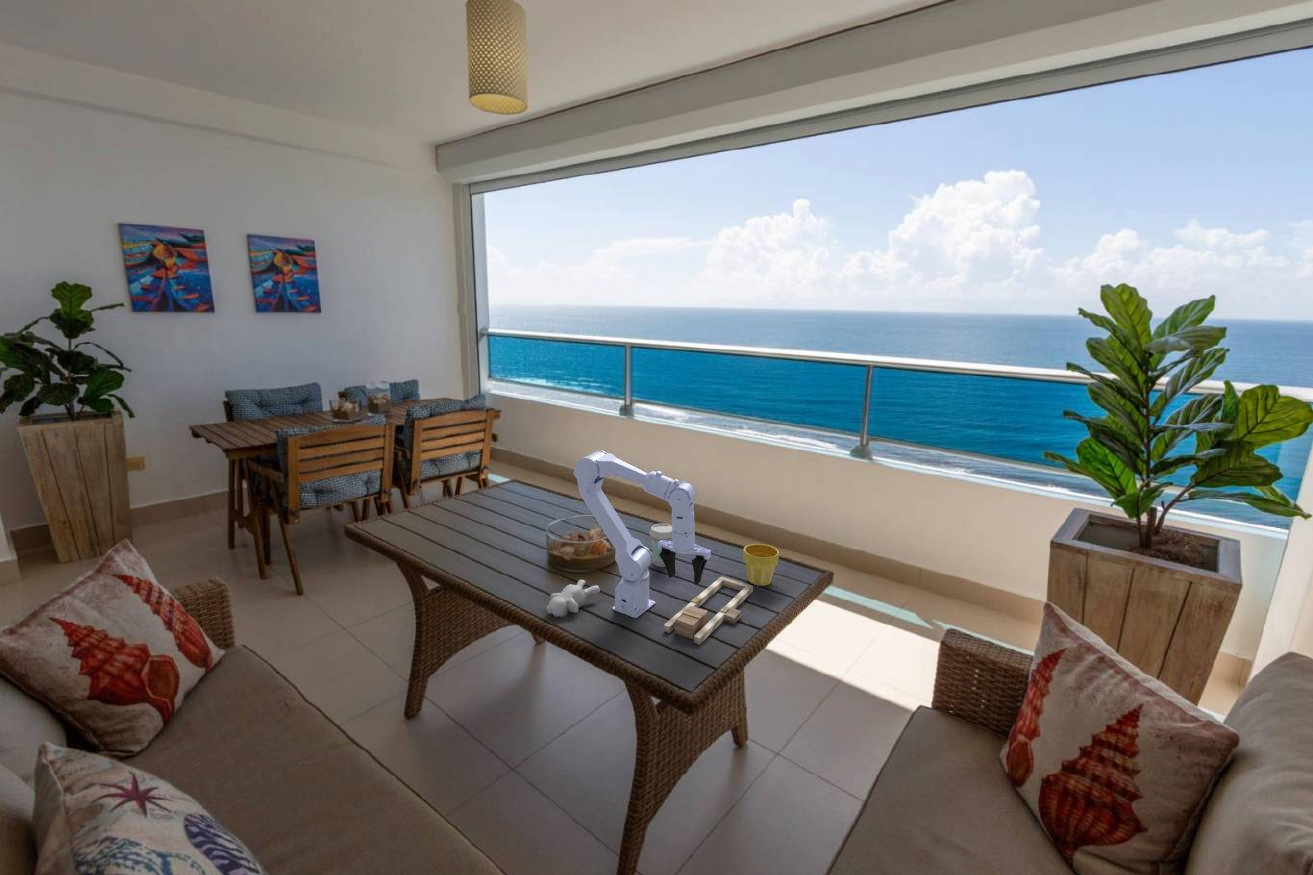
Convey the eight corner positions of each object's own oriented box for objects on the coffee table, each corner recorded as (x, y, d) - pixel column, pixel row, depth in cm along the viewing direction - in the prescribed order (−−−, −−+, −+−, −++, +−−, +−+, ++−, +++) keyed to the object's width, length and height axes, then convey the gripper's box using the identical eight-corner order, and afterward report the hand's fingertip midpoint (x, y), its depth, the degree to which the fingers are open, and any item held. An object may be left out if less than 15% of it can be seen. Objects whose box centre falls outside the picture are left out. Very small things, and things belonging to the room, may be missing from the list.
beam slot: (710, 649, 132) (711, 641, 131) (663, 631, 139) (664, 623, 138) (762, 594, 158) (762, 587, 157) (720, 581, 165) (721, 575, 164)
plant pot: (752, 569, 173) (754, 540, 171) (783, 579, 166) (785, 549, 164) (735, 581, 165) (737, 550, 163) (766, 592, 159) (768, 561, 156)
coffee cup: (678, 559, 179) (679, 524, 176) (672, 571, 171) (673, 534, 168) (653, 555, 181) (653, 521, 178) (645, 567, 173) (646, 531, 170)
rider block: (692, 640, 136) (693, 624, 135) (675, 633, 138) (675, 618, 137) (707, 625, 142) (708, 610, 141) (690, 619, 145) (690, 604, 144)
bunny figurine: (538, 598, 146) (577, 571, 157) (540, 615, 147) (579, 587, 159) (563, 610, 140) (602, 581, 152) (565, 627, 142) (604, 597, 153)
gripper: (715, 529, 140) (716, 578, 143) (666, 520, 148) (668, 567, 151) (703, 539, 135) (704, 590, 137) (652, 529, 142) (654, 578, 145)
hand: (684, 579), depth 144 cm, fingers open, 7 cm apart
